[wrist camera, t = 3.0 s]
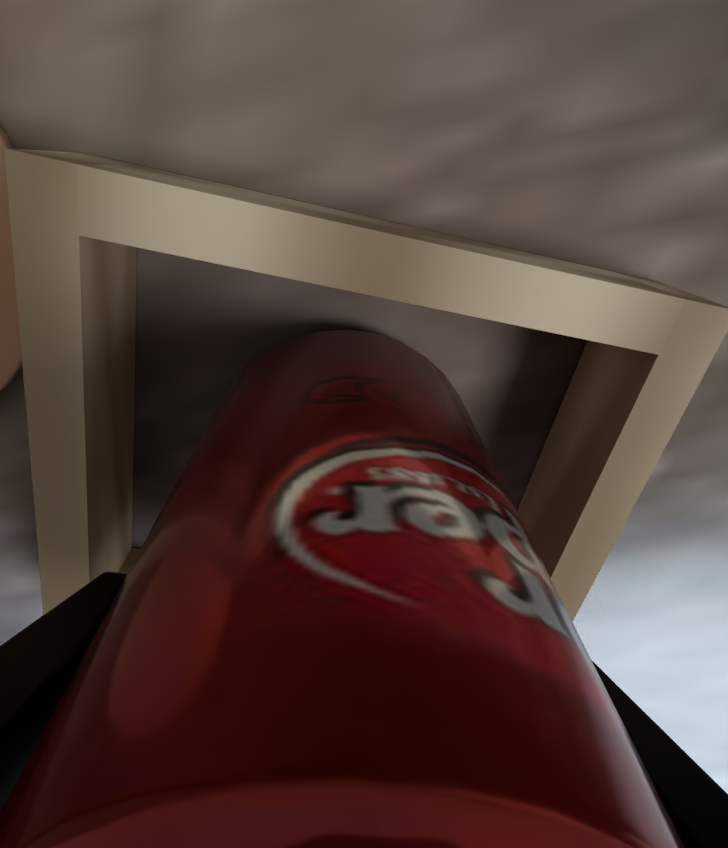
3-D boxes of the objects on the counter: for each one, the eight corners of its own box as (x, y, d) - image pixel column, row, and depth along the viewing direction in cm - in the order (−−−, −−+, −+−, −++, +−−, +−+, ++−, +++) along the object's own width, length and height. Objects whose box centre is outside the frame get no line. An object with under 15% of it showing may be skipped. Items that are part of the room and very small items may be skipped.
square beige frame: (658, 281, 13) (737, 311, 11) (503, 624, 19) (529, 701, 16) (83, 153, 12) (4, 148, 9) (93, 570, 17) (45, 647, 14)
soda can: (389, 268, 13) (611, 765, 2) (505, 478, 16) (843, 1134, 5) (162, 406, 14) (-375, 1107, 4) (306, 574, 17) (242, 1243, 7)
